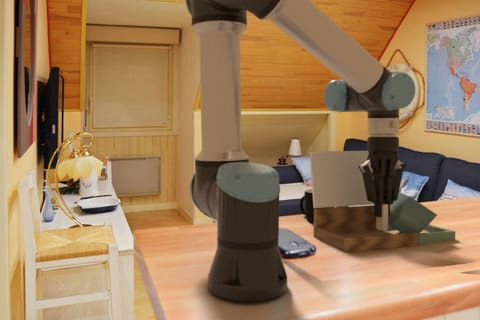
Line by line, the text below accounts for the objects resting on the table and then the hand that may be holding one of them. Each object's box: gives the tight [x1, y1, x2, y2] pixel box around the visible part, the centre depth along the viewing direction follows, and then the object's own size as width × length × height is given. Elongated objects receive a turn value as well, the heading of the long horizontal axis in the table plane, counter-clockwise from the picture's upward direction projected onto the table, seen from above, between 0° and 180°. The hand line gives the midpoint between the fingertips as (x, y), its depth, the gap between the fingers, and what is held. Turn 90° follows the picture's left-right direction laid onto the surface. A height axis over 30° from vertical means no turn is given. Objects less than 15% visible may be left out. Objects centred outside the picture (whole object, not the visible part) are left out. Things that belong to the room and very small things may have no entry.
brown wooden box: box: [313, 204, 419, 254], centre depth 115 cm, size 20×15×8 cm
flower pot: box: [388, 191, 438, 234], centre depth 119 cm, size 9×9×9 cm
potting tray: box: [388, 223, 456, 246], centre depth 120 cm, size 12×14×2 cm
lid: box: [309, 150, 374, 208], centre depth 122 cm, size 20×14×1 cm
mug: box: [299, 188, 336, 224], centre depth 134 cm, size 12×9×10 cm
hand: (382, 229), depth 116 cm, fingers closed
